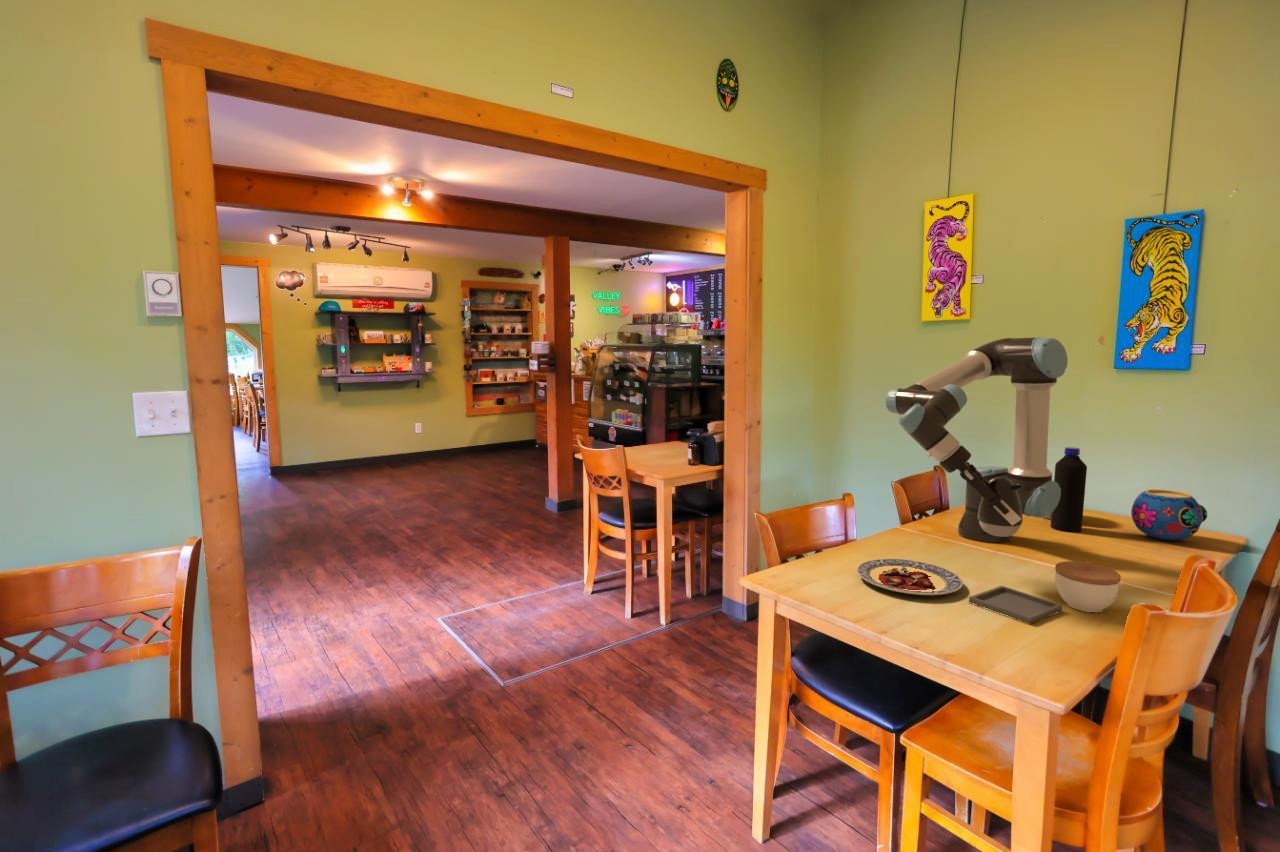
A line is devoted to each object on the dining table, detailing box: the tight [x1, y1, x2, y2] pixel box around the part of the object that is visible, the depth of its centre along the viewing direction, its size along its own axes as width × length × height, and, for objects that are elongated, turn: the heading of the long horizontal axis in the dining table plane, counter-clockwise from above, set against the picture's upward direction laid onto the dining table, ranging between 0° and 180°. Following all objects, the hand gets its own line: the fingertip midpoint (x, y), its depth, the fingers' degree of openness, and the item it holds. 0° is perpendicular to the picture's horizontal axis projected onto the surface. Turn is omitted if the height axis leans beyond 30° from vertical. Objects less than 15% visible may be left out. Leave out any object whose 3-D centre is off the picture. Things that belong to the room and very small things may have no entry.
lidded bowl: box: [1054, 560, 1122, 614], centre depth 148 cm, size 13×13×11 cm
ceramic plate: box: [856, 558, 964, 596], centre depth 164 cm, size 26×26×3 cm
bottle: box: [1050, 446, 1088, 533], centre depth 210 cm, size 9×9×28 cm
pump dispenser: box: [978, 477, 1023, 537], centre depth 162 cm, size 10×10×15 cm
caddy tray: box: [968, 585, 1063, 625], centre depth 148 cm, size 14×14×2 cm
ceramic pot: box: [1130, 489, 1208, 542], centre depth 200 cm, size 18×18×15 cm
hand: (1013, 516), depth 161 cm, fingers closed on pump dispenser, 10 cm apart
